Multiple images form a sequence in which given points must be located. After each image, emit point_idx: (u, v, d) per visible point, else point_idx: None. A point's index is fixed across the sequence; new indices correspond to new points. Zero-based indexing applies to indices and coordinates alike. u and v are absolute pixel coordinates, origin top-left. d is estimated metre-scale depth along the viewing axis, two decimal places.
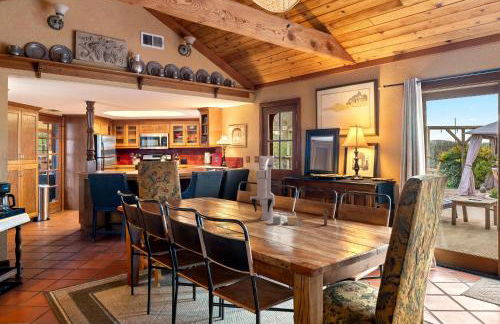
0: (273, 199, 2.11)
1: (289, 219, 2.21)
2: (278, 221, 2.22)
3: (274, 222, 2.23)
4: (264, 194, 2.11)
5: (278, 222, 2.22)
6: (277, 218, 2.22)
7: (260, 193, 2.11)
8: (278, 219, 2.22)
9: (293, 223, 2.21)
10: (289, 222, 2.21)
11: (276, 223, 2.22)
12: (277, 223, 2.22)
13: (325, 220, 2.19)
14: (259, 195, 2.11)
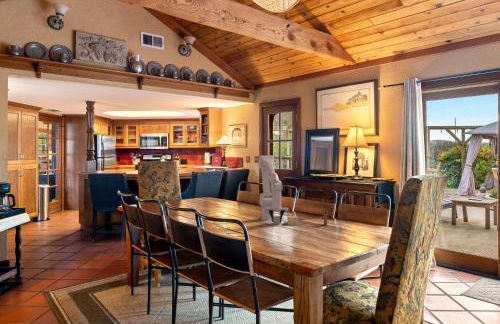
0: (287, 210, 2.22)
1: (289, 219, 2.21)
2: (279, 220, 2.22)
3: (274, 222, 2.23)
4: (279, 205, 2.22)
5: (278, 222, 2.22)
6: (277, 218, 2.22)
7: (275, 204, 2.22)
8: (278, 219, 2.22)
9: (293, 223, 2.21)
10: (289, 222, 2.21)
11: (276, 223, 2.22)
12: (277, 223, 2.22)
13: (325, 220, 2.20)
14: (274, 206, 2.22)
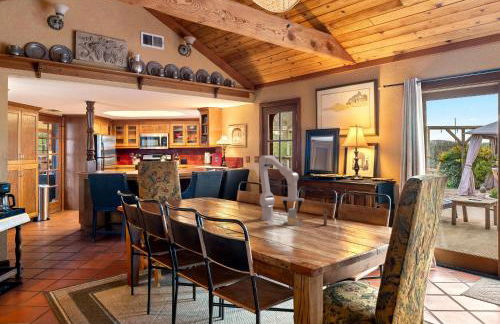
0: (303, 200, 2.21)
1: (289, 219, 2.21)
2: (294, 213, 2.21)
3: (290, 214, 2.22)
4: (295, 196, 2.21)
5: (294, 214, 2.21)
6: (293, 210, 2.21)
7: (291, 195, 2.21)
8: (294, 211, 2.21)
9: (293, 223, 2.21)
10: (289, 222, 2.21)
11: (292, 215, 2.21)
12: (293, 215, 2.21)
13: (325, 220, 2.20)
14: (290, 197, 2.21)
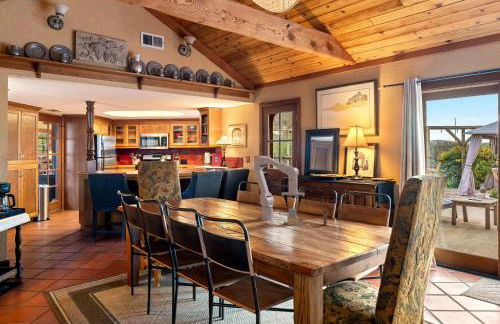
0: None
1: (289, 219, 2.21)
2: (294, 213, 2.21)
3: (290, 214, 2.22)
4: (295, 190, 2.27)
5: (294, 214, 2.21)
6: (293, 210, 2.21)
7: (292, 189, 2.27)
8: (294, 211, 2.21)
9: (293, 223, 2.21)
10: (289, 222, 2.21)
11: (292, 215, 2.21)
12: (293, 215, 2.21)
13: (325, 220, 2.20)
14: (291, 191, 2.27)
